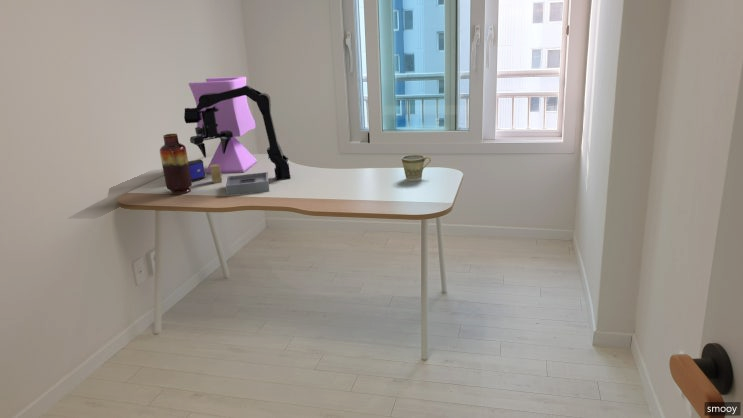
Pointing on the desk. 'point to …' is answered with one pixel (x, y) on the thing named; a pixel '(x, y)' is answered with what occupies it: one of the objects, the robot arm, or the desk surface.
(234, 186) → the grey socket tray
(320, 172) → the desk surface
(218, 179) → the connector plug
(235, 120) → the lavender hourglass shape
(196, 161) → the blue screen device
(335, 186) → the desk surface
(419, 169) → the ceramic cup
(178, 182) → the vase
